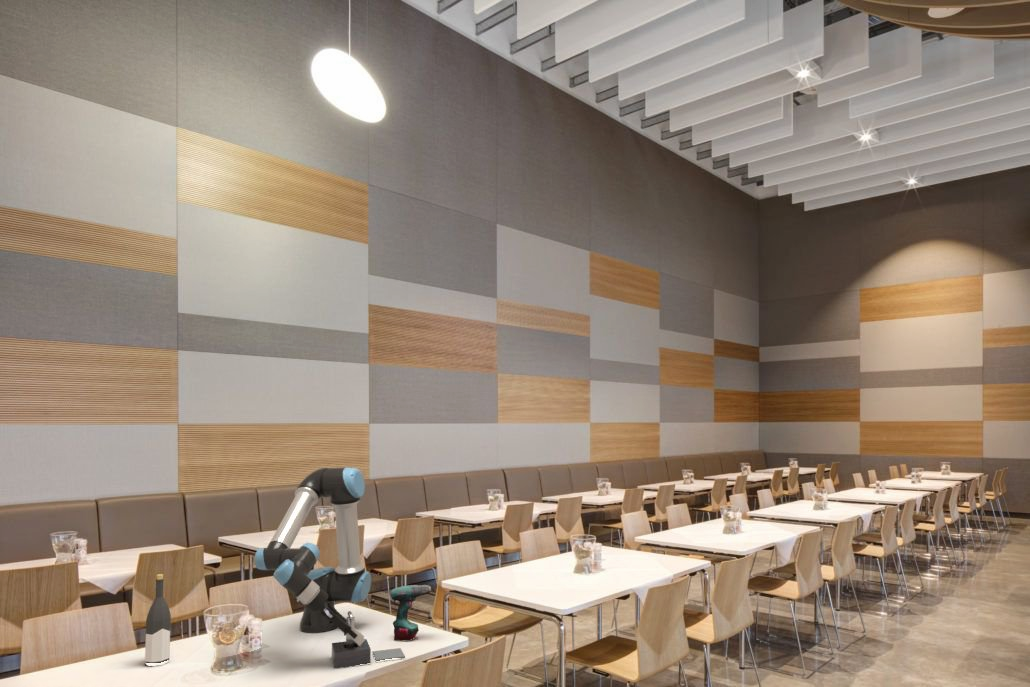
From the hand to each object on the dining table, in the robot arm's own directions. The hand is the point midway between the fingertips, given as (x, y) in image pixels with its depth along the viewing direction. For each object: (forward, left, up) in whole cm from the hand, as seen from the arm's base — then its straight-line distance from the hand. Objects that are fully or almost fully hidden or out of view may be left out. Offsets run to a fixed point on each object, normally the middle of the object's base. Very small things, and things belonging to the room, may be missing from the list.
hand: (361, 641), depth 249 cm
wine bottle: (-24, -68, -6) cm, 72 cm away
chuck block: (0, -4, -6) cm, 7 cm away
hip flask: (0, -4, -4) cm, 5 cm away
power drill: (-17, +20, -6) cm, 27 cm away
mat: (0, +9, -6) cm, 11 cm away
